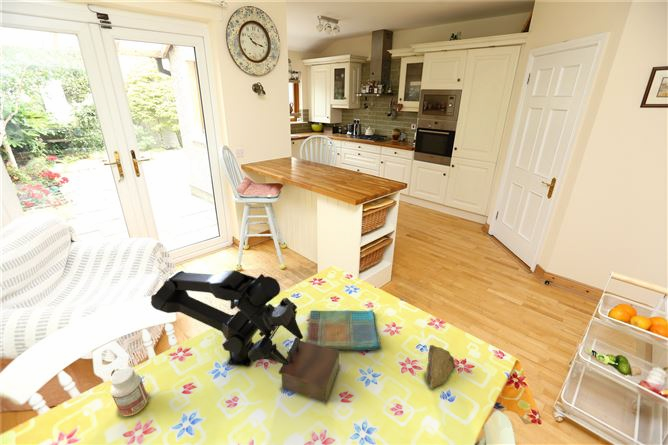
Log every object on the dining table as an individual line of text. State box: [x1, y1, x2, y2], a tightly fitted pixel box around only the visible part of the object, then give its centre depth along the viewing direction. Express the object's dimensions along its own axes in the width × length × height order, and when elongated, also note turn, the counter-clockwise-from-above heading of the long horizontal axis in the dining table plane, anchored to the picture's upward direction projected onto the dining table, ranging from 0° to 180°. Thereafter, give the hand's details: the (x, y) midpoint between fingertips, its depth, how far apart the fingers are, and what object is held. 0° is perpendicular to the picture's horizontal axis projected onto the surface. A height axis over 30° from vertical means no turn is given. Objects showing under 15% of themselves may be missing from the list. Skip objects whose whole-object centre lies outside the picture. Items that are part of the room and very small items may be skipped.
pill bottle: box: [109, 366, 149, 417], centre depth 72 cm, size 6×6×11 cm
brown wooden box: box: [280, 354, 340, 403], centre depth 81 cm, size 13×12×5 cm
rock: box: [425, 344, 456, 390], centre depth 82 cm, size 11×9×10 cm
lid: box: [278, 337, 340, 388], centre depth 79 cm, size 13×12×5 cm
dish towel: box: [306, 309, 382, 351], centre depth 97 cm, size 17×23×2 cm
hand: (295, 350), depth 80 cm, fingers open, 9 cm apart
